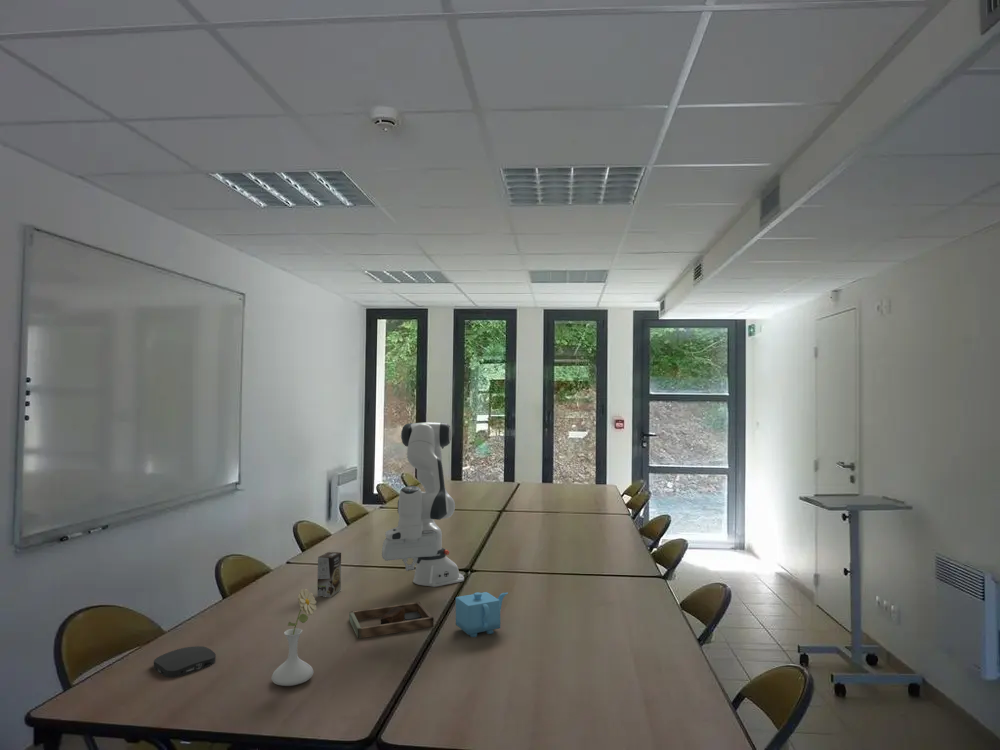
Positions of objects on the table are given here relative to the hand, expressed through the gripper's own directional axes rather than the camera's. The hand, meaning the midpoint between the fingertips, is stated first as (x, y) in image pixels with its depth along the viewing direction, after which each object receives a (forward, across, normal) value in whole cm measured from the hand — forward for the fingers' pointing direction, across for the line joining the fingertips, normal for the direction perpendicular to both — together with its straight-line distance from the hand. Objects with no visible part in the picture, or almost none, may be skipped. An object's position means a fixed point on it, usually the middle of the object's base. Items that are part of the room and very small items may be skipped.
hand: (409, 570), depth 217 cm
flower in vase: (+19, +42, +32) cm, 56 cm away
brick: (+18, +6, +1) cm, 20 cm away
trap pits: (+18, -2, 0) cm, 18 cm away
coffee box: (+18, +23, -43) cm, 52 cm away
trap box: (+18, +7, 0) cm, 19 cm away
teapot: (+18, -22, +19) cm, 34 cm away
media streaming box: (+19, +72, +8) cm, 75 cm away
